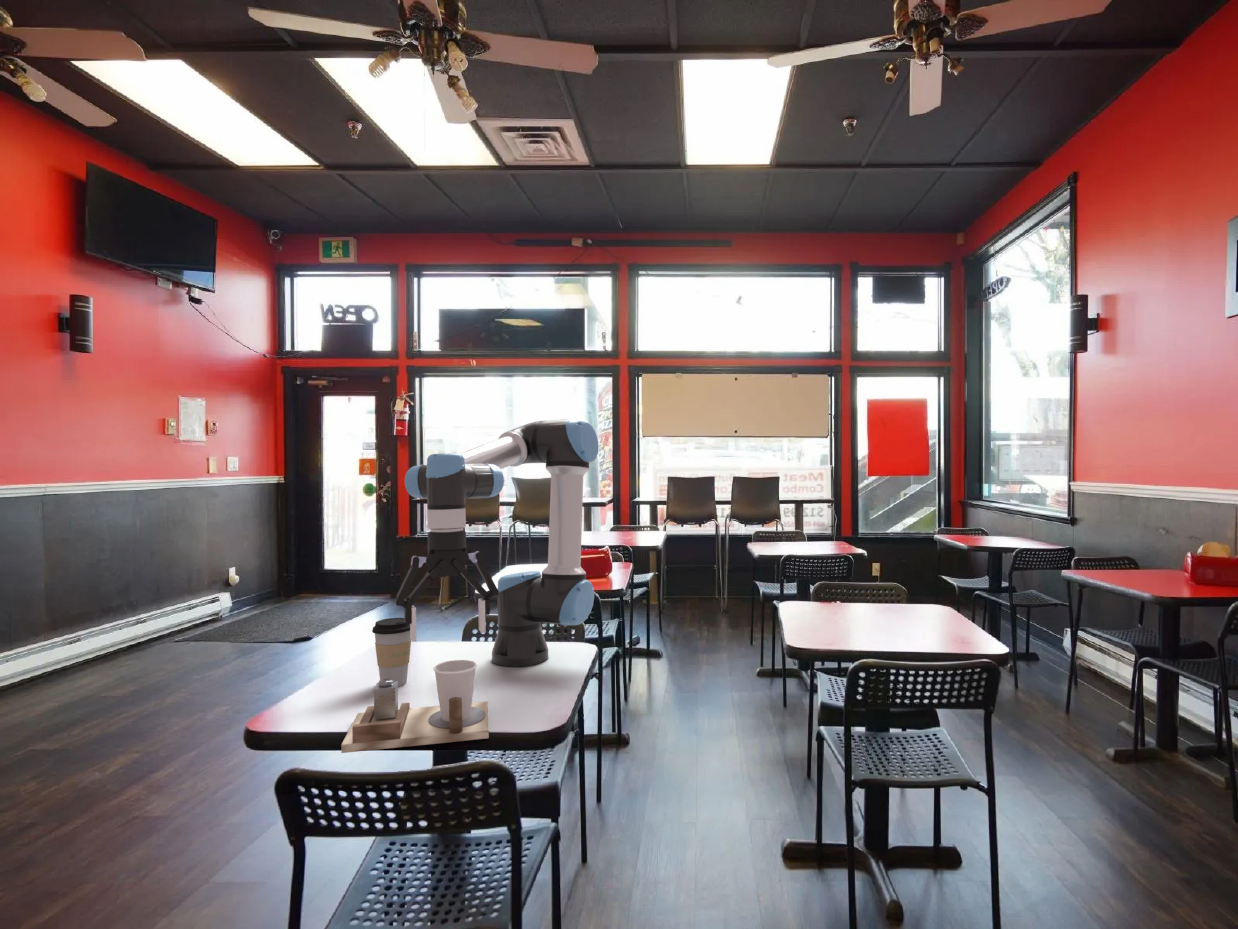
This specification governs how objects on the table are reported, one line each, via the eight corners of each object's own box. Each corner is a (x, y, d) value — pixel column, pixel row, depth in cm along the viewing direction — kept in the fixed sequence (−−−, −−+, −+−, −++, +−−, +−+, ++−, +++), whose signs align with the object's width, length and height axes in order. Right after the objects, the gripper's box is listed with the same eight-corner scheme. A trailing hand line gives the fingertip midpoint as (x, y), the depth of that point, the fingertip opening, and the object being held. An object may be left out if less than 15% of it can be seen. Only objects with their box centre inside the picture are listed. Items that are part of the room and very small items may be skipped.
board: (487, 708, 137) (487, 672, 137) (488, 738, 121) (488, 698, 121) (358, 720, 131) (357, 683, 132) (341, 753, 115) (340, 711, 116)
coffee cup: (401, 691, 149) (400, 626, 149) (364, 689, 151) (363, 625, 151) (421, 678, 158) (420, 617, 159) (386, 676, 160) (386, 616, 160)
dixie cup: (438, 727, 122) (438, 674, 122) (430, 713, 130) (430, 663, 130) (482, 719, 126) (481, 668, 126) (471, 705, 133) (471, 657, 134)
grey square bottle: (398, 710, 132) (397, 677, 132) (395, 717, 128) (395, 683, 128) (377, 712, 131) (377, 678, 131) (374, 719, 127) (373, 685, 127)
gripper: (502, 525, 138) (504, 624, 138) (379, 532, 127) (380, 639, 127) (512, 527, 131) (514, 631, 131) (383, 535, 121) (384, 648, 120)
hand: (448, 635), depth 129 cm, fingers open, 13 cm apart
